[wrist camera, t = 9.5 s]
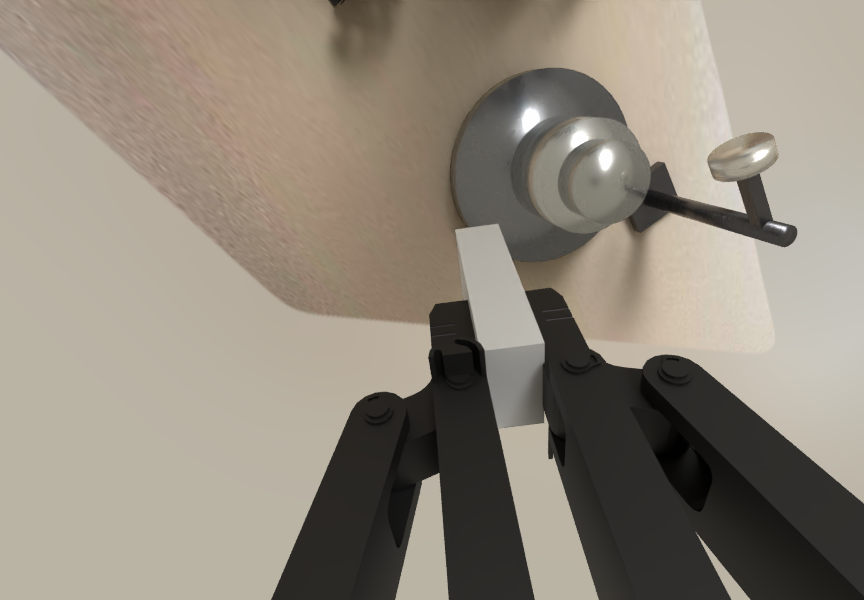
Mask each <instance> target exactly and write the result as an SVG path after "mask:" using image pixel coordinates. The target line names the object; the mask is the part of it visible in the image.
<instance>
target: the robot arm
mask: <svg viewBox="0 0 864 600" xmlns="http://www.w3.org/2000/svg"><path fill="white" fill-rule="evenodd" d="M455 233H456V242H457V251H458V260H459V269H460V278H461V288H462V296H463V301H456V302H448V303H440V304H435V306H434V307H433V309H432V311H431V313H430V315H429V318H430V330H431V331H430V332H431V345H432V348H431V350H430V352H429V357H428V359H429V363H430V370H431V375H432V379H431V381H430V383H429V384H428V385H427V386H426V387H425V388H424V389H422V390H421V391H420V392H418V393H416V394H414V395H412V396H409V397H407V398H404V399H402V398H401V397H399V396H397V395H396V394H394V393H389V392H378V393H374V394H371V395H368V396H366V397H364V398H363V399H362V400H360V401H359V402H358V403H357V404H356V405H355V407H354V408H353V410H352V411H351V413H350V416H349V418H348V420H347V423H346V425H345V427H344V430H343V432H342V435H341V437H340V439H339V442H338V444H337V446H336V449H335V451H334V453H333V456H332V458H331V460H330V463H329V465H328V467H327V470H326V472H325V475H324V477H323V479H322V481H321V484H320V486H319V489H318V491H317V493H316V496H315V498H314V500H313V503H312V505H311V508H310V510H309V512H308V514H307V517H306V519H305V522H304V524H303V526H302V529H301V531H300V533H299V536H298V538H297V540H296V543H295V545H294V547H293V550H292V552H291V554H290V557H289V559H288V562H287V564H286V566H285V569H284V571H283V573H282V576H281V578H280V580H279V583H278V585H277V587H276V590H275V592H274V594H273V597H272V599H271V600H395V598H396V593H397V589H398V584H399V580H400V576H401V572H402V567H403V563H404V559H405V554H406V550H407V545H408V541H409V537H410V533H411V528H412V524H413V519H414V515H415V510H416V506H417V502H418V498H419V494H420V489H421V485H422V480H424V479H426V478H429V477H431V476H433V475H435V474H438V473H440V487H441V500H442V513H443V526H444V540H445V553H446V567H447V580H448V594H449V600H535V599H534V594H533V589H532V585H531V580H530V576H529V571H528V567H527V562H526V557H525V552H524V547H523V543H522V538H521V533H520V529H519V525H518V519H517V515H516V511H515V505H514V501H513V496H512V492H511V487H510V483H509V478H508V473H507V468H506V463H505V459H504V454H503V449H502V445H501V440H500V435H499V431H498V429H499V428H507V427H515V426H522V425H530V424H539V423H544V411H545V414H546V418H547V420H548V424H549V432H548V433H549V435H548V455H549V459H552V458H553V454H554V458H555V461H556V464H557V467H558V470H559V473H560V476H561V480H562V483H563V486H564V489H565V493H566V496H567V499H568V502H569V505H570V509H571V512H572V515H573V518H574V521H575V525H576V528H577V531H578V534H579V537H580V540H581V543H582V547H583V550H584V553H585V556H586V559H587V563H588V566H589V569H590V572H591V576H592V579H593V582H594V585H595V588H596V592H597V595H598V598H599V600H731V598H730V596H729V594H728V593H727V591H726V589H725V587H724V585H723V583H722V581H721V580H720V577H719V576H718V574H717V572H716V570H715V568H714V566H713V564H712V562H711V560H710V559H709V556H708V555H707V553H706V551H705V549H704V547H703V545H702V543H701V541H700V539H699V538H698V536H697V534H698V535H699V536H700V538H701V539H702V540H703V541H704V543H705V544H706V545H707V546H708V548H709V549H710V550H711V551H712V553H713V554H714V555H715V556H716V557H717V559H718V560H719V561H720V562H721V563H722V565H723V566H724V567H725V569H726V570H727V571H728V572H729V573H730V575H731V576H732V577H733V579H734V580H735V581H736V582H737V583H738V585H739V586H740V587H741V588H742V590H743V591H744V592H745V593H746V595H747V596H748V597H749V598H750V599H751V600H864V504H863V503H862V502H861V501H860V500H859V499H858V498H856V497H855V496H854V495H853V494H852V493H850V492H849V491H848V490H847V489H846V488H844V487H843V486H842V485H841V484H840V483H839V482H837V481H836V480H835V479H834V478H833V477H831V476H830V475H829V474H828V473H827V472H825V471H824V470H823V469H822V468H821V467H819V466H818V465H817V464H816V463H815V462H814V461H812V460H811V459H810V458H809V457H807V456H806V455H805V454H804V453H803V452H802V451H800V450H799V449H798V448H797V447H796V446H794V445H793V444H792V443H791V442H790V441H789V440H787V439H786V438H785V437H784V436H782V435H781V434H780V433H779V432H778V431H777V430H775V429H774V428H773V427H772V426H770V425H769V424H768V423H767V422H766V421H765V420H763V419H762V418H761V417H760V416H759V415H757V414H756V413H755V412H754V411H753V410H751V409H750V408H749V407H748V406H747V405H746V404H744V403H743V402H742V401H741V400H740V399H739V398H737V397H736V396H735V395H734V394H733V393H731V392H730V391H729V390H728V389H727V388H725V387H724V386H723V385H722V384H721V383H719V382H718V381H717V380H716V379H715V378H713V377H712V376H711V375H710V374H709V373H708V372H706V371H705V370H704V369H703V368H702V367H700V366H699V365H698V364H696V363H694V362H693V361H691V360H689V359H686V358H683V357H680V356H675V355H660V356H654V357H653V358H651V359H649V360H647V362H646V363H645V365H644V366H643V369H636V368H626V367H619V366H614V365H611V364H608V363H606V361H605V360H604V359H603V358H602V357H601V355H600V354H598V353H596V352H595V351H593V350H591V349H589V347H588V345H587V344H586V342H585V340H584V338H583V336H582V334H581V332H580V330H579V328H578V326H577V324H576V322H575V320H574V318H573V317H572V314H571V312H570V310H569V309H568V306H567V304H566V302H565V300H564V298H563V296H562V295H560V294H559V293H557V292H556V291H555V290H553V289H552V288H545V289H538V290H530V291H524V289H523V286H522V284H521V281H520V279H519V276H518V273H517V271H516V268H515V266H514V263H513V261H512V258H511V255H510V253H509V250H508V248H507V245H506V243H505V240H504V238H503V235H502V232H501V230H500V227H499V225H498V224H492V225H485V226H477V227H470V228H463V229H455ZM696 533H697V534H696Z"/></svg>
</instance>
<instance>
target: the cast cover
mask: <svg viewBox="0 0 864 600" xmlns="http://www.w3.org/2000/svg"><path fill="white" fill-rule="evenodd" d="M650 179H651V170H650V164H649V161H648V159H647V156H646V155H645V153H644V152H643V151H642V149H641V148H640V145H639V143H638V140H637V139H636V137H635V135H634V134H633V133H632V132H631V130H630V129H628V128H627V127H626V126H625V125H624V124H622V123H620V122H618V121H616V120H613V119H609V118H599V117H579V116H555V117H550V118H548V119H545V120H543V121H541V122H539V123H537V124H536V125H535V126H533V127H532V128H531V129H530V130H529V131H528V132H527V133H526V134H525V135H524V137H523V138H522V139H521V141H520V142H519V144H518V146H517V148H516V150H515V153H514V156H513V159H512V163H511V184H512V188H513V191H514V194H515V196H516V198H517V200H518V201H519V203H520V204H521V205H522V206H523V207H524V208H525V209H526V210H527V211H529V212H530V213H532V214H534V215H536V216H538V217H540V218H542V219H544V220H546V221H548V222H550V223H552V224H554V225H556V226H558V227H560V228H562V229H565V230H567V231H569V232H573V233H579V234H587V233H593V232H596V231H600V230H602V229H604V228H606V227H608V226H610V225H611V224H613V223H617V222H620V221H622V220H624V219H626V218H627V217H629V216H630V215H632V214H633V213H634V212H635V211H636V210H637V209H638V207H639V206H640V205H641V203H642V202H643V200H644V198H645V196H646V194H647V192H648V189H649V185H650Z"/></svg>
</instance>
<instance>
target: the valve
mask: <svg viewBox="0 0 864 600" xmlns="http://www.w3.org/2000/svg"><path fill="white" fill-rule="evenodd" d="M346 1H347V0H329V2H330V3H331V5H332V6H333V7H334V8H335V7H337V6H338V5H339V4H340V5H342V4H344V3H345V2H346Z"/></svg>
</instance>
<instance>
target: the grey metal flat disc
mask: <svg viewBox="0 0 864 600" xmlns="http://www.w3.org/2000/svg"><path fill="white" fill-rule="evenodd" d="M555 116H579V117H599V118H609V119H613V120H616V121H618V122H620V123H622V124H624V125H625V126H626V127H627V124H626V121H625V118H624V115H623V113H622V111H621V109H620V107H619V105H618V104H617V102H616V101H615V99H614V98H613V96H612V95H611V94H610V93H609V92H608V91H607V90H606V89H605V88H604V86H602V85H601V84H600V83H598V82H597V81H596V80H595V79H593V78H591V77H589V76H587V75H585V74H583V73H580V72H577V71H574V70H570V69H564V68H545V69H538V70H532V71H526V72H523V73H519V74H516V75H514V76H511V77H509V78H507V79H505V80H503V81H502V82H500V83H499V84H497V85H496V86H494V87H493V88H491V89H490V90H489V91H488V92H487V93H486V94H484V95H483V96H482V97H481V98H480V100H479V101H478V102H477V103H476V104H475V105H474V106H473V108H472V109H471V111H470V112H469V114H468V115H467V116H466V118H465V120H464V122H463V124H462V126H461V128H460V130H459V132H458V135H457V138H456V140H455V144H454V148H453V152H452V157H451V165H450V182H451V190H452V195H453V199H454V203H455V205H456V208H457V210H458V213H459V215H460V217H461V219H462V220H463V222H464V224H465V225H466V226H467V228H470V227H477V226H485V225H492V224H498V225H499V227H500V230H501V232H502V235H503V238H504V240H505V243H506V245H507V248H508V250H509V253H510V255H511V258H512V259H513V260H518V261H524V262H539V261H547V260H551V259H556V258H558V257H561V256H564V255H566V254H568V253H570V252H572V251H574V250H576V249H578V248H579V247H581V246H582V245H584V244H585V243H586V242H588V241H589V240H590V239H591V238H592V237H594V236H595V235H596V234H597V233H598V232H599V231H596V232H593V233H587V234H579V233H573V232H569V231H567V230H565V229H562V228H560V227H558V226H556V225H554V224H552V223H550V222H548V221H546V220H544V219H542V218H540V217H538V216H536V215H534V214H532V213H530V212H529V211H527V210H526V209H525V208H524V207H523V206H522V205H521V204H520V203H519V201H518V200H517V198H516V196H515V194H514V191H513V188H512V184H511V163H512V159H513V156H514V153H515V150H516V148H517V146H518V144H519V142H520V141H521V139H522V138H523V137H524V135H525V134H526V133H527V132H528V131H529V130H530V129H531V128H532V127H533V126H535V125H536V124H537V123H539V122H541V121H543V120H545V119H548V118H550V117H555ZM627 128H628V127H627Z"/></svg>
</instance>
